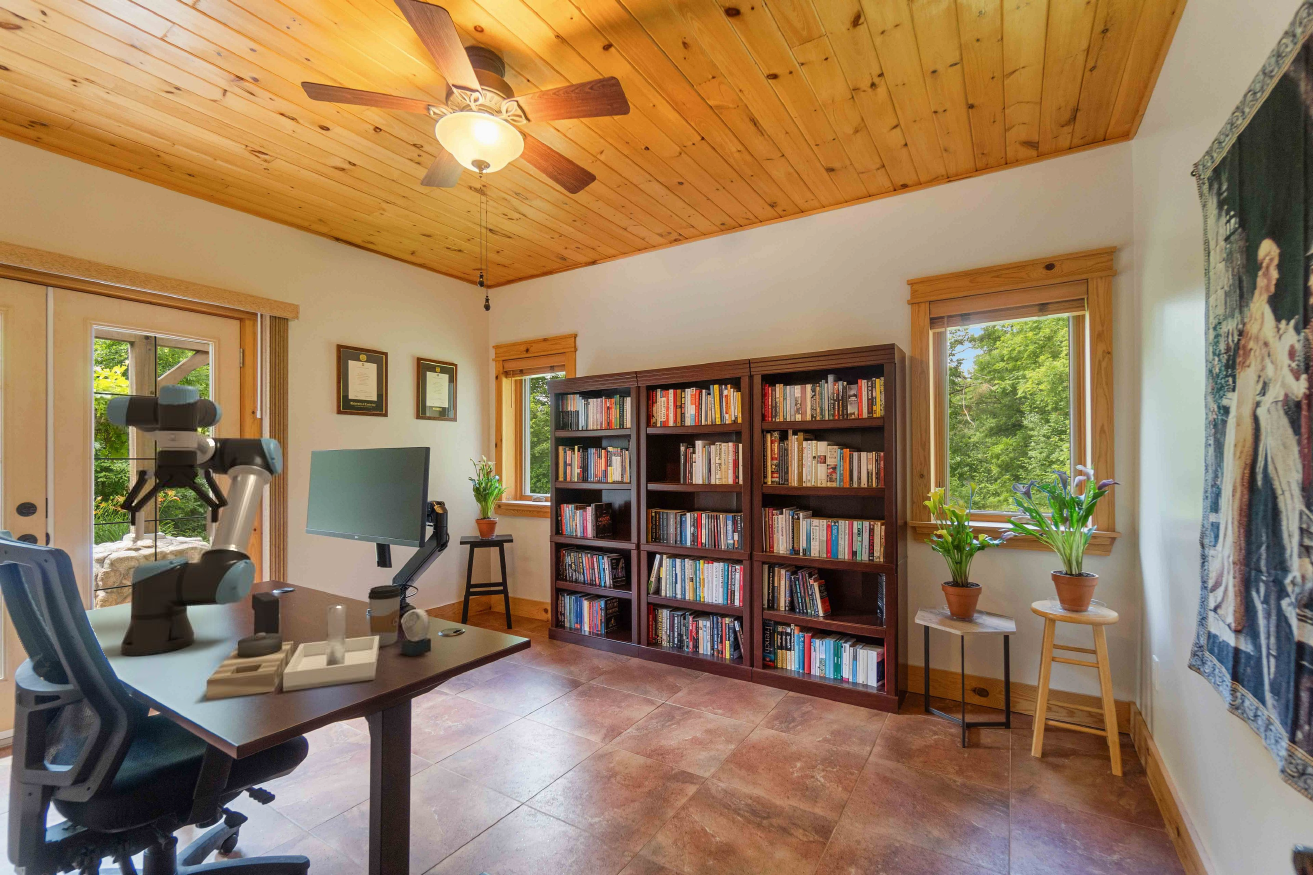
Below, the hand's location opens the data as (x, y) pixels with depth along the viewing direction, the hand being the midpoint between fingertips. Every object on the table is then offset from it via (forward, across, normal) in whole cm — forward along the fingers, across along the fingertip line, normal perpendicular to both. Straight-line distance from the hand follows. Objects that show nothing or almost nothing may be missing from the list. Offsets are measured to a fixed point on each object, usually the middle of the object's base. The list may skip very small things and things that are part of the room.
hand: (175, 538), depth 142 cm
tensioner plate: (+32, +19, -11) cm, 38 cm away
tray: (+32, +36, -14) cm, 50 cm away
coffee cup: (+32, +46, +4) cm, 56 cm away
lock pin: (+31, +36, -14) cm, 49 cm away
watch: (+32, +54, -8) cm, 63 cm away
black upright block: (+32, +18, +7) cm, 37 cm away
